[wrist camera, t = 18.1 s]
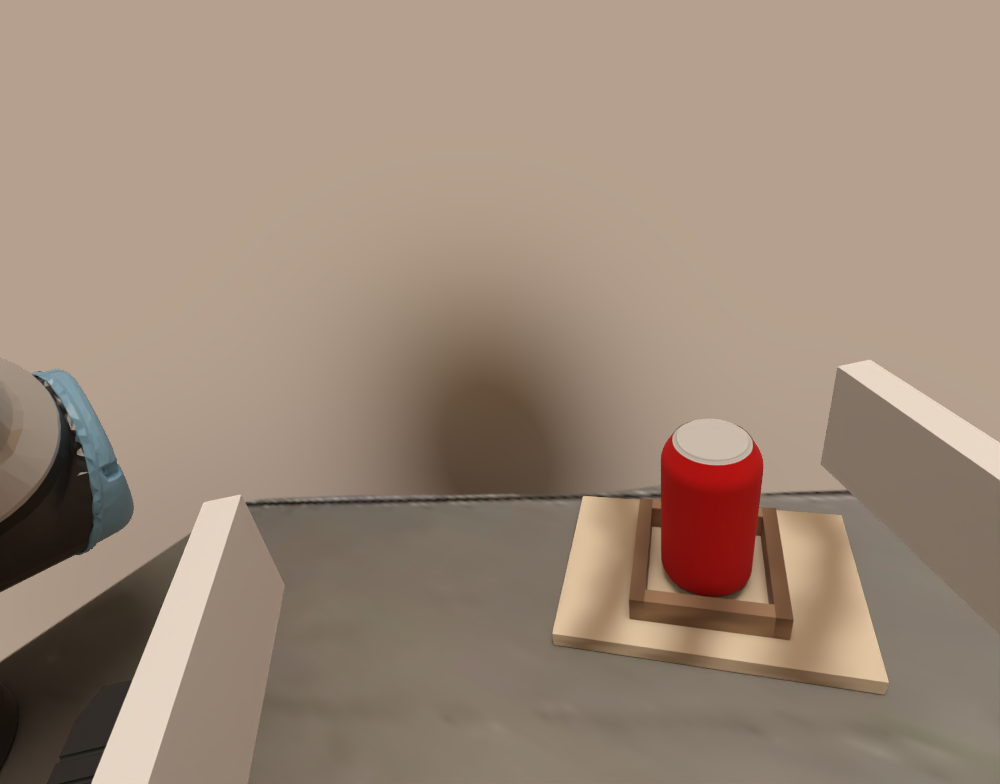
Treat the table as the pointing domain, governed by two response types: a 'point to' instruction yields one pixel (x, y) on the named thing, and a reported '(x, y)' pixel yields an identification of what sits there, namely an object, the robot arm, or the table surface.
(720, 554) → the beverage can
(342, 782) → the table surface
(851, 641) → the collar board
